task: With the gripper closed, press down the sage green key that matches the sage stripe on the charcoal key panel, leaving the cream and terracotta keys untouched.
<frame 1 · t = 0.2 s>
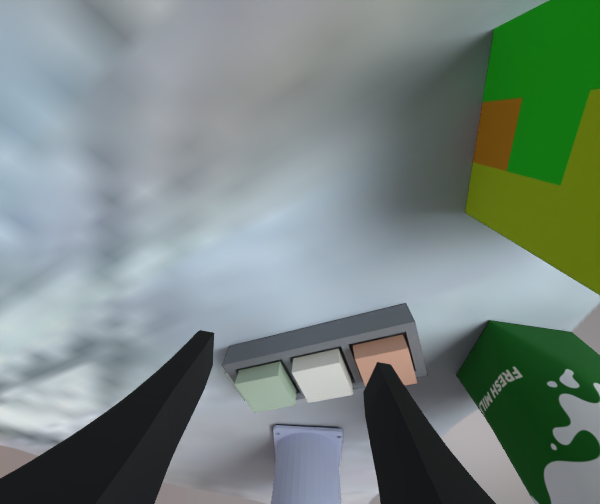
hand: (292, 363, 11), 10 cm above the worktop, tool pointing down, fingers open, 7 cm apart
cream key: (322, 376, 22), point 3 cm above the worktop, slide at 0.0 cm
key panel: (322, 350, 24), on the worktop
sage key: (266, 387, 23), point 3 cm above the worktop, slide at 0.0 cm
terracotta key: (384, 364, 21), point 3 cm above the worktop, slide at 0.0 cm
puzzle toy: (564, 121, 15), on the worktop
milk carton: (507, 352, 24), on the worktop
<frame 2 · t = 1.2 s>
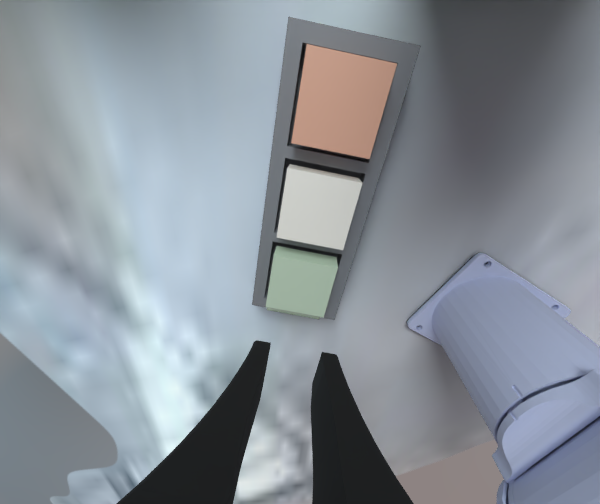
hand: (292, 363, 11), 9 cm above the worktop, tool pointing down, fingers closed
cream key: (317, 208, 15), point 3 cm above the worktop, slide at 0.0 cm
key panel: (316, 196, 18), on the worktop
sage key: (300, 282, 17), point 3 cm above the worktop, slide at 0.0 cm
terracotta key: (339, 106, 13), point 3 cm above the worktop, slide at 0.0 cm
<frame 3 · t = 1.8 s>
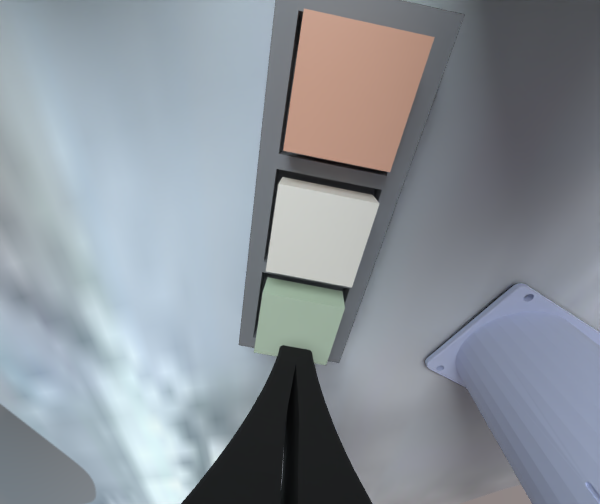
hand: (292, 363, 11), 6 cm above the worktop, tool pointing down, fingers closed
cream key: (318, 233, 12), point 3 cm above the worktop, slide at 0.0 cm
key panel: (317, 214, 14), on the worktop
sage key: (297, 322, 14), point 3 cm above the worktop, slide at 0.0 cm
terracotta key: (349, 100, 9), point 3 cm above the worktop, slide at 0.0 cm
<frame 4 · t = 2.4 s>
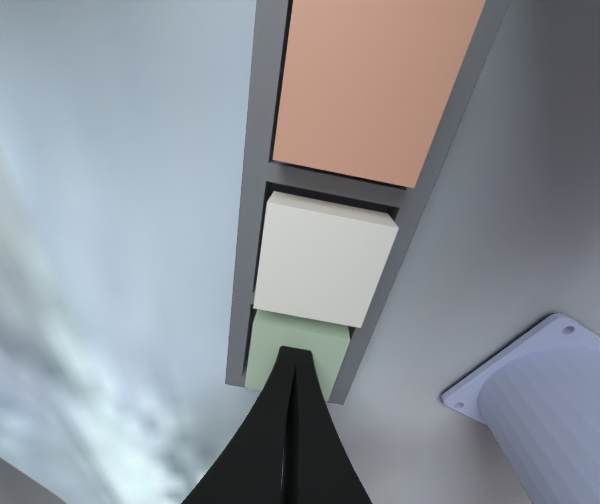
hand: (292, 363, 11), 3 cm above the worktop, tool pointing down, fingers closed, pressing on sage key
cream key: (318, 261, 9), point 3 cm above the worktop, slide at 0.0 cm
key panel: (318, 232, 12), on the worktop
sage key: (294, 352, 12), point 2 cm above the worktop, slide at 0.6 cm, touching gripper
terracotta key: (360, 93, 7), point 3 cm above the worktop, slide at 0.0 cm
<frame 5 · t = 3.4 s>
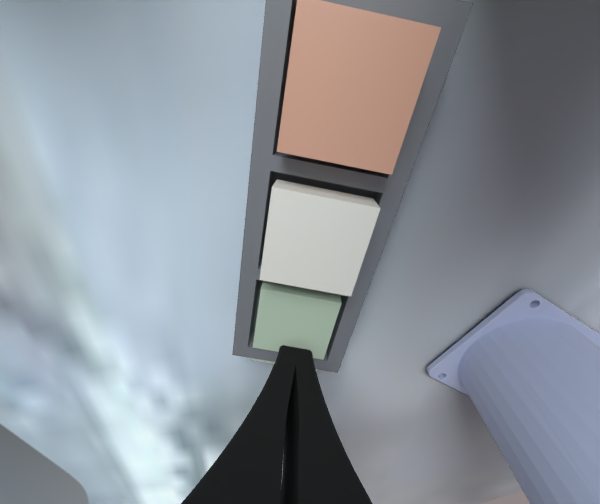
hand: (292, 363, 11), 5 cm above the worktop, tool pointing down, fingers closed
cream key: (315, 239, 11), point 3 cm above the worktop, slide at 0.0 cm
key panel: (315, 217, 13), on the worktop
sage key: (295, 317, 14), point 2 cm above the worktop, slide at 1.1 cm
terracotta key: (347, 97, 9), point 3 cm above the worktop, slide at 0.0 cm
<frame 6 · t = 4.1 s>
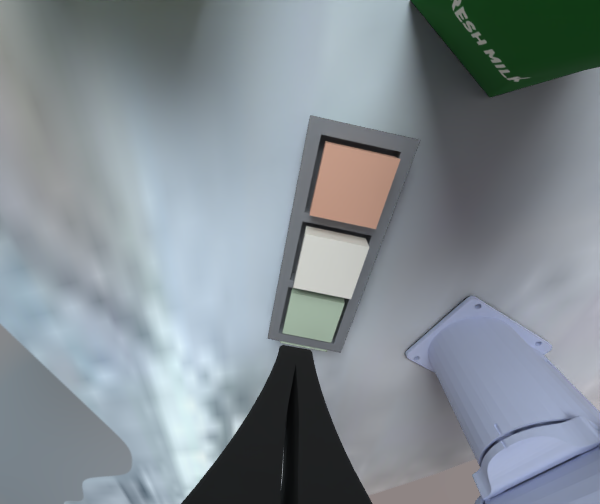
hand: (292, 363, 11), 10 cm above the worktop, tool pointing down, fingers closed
cream key: (329, 263, 17), point 3 cm above the worktop, slide at 0.0 cm
key panel: (327, 245, 20), on the worktop
sage key: (312, 313, 21), point 2 cm above the worktop, slide at 1.1 cm
terracotta key: (351, 186, 15), point 3 cm above the worktop, slide at 0.0 cm
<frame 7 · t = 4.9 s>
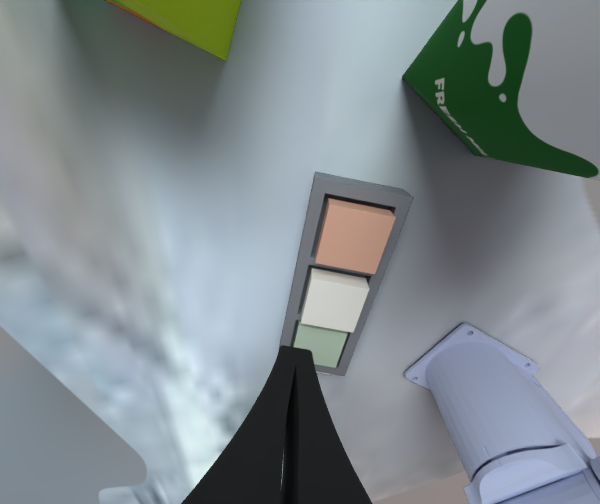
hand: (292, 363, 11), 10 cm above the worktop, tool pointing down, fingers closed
cream key: (332, 300, 19), point 3 cm above the worktop, slide at 0.0 cm
key panel: (331, 280, 22), on the worktop
sage key: (317, 341, 22), point 2 cm above the worktop, slide at 1.1 cm
terracotta key: (352, 237, 17), point 3 cm above the worktop, slide at 0.0 cm
milk carton: (488, 65, 15), on the worktop
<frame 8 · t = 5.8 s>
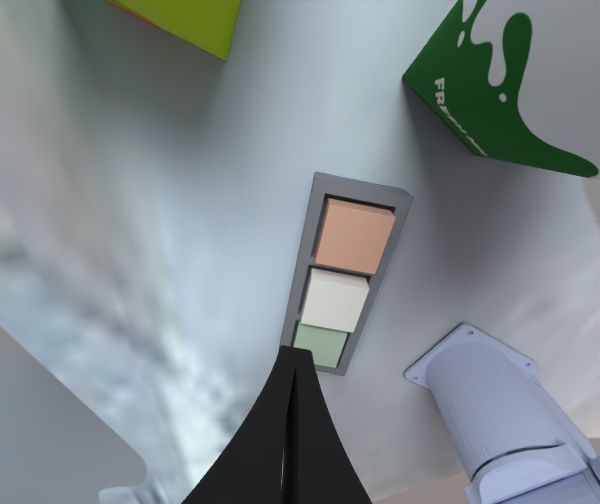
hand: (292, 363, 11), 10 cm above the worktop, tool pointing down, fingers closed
cream key: (332, 300, 19), point 3 cm above the worktop, slide at 0.0 cm
key panel: (331, 280, 22), on the worktop
sage key: (317, 341, 22), point 2 cm above the worktop, slide at 1.1 cm
terracotta key: (352, 237, 17), point 3 cm above the worktop, slide at 0.0 cm
milk carton: (488, 65, 15), on the worktop
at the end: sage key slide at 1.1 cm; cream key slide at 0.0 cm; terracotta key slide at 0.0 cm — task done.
